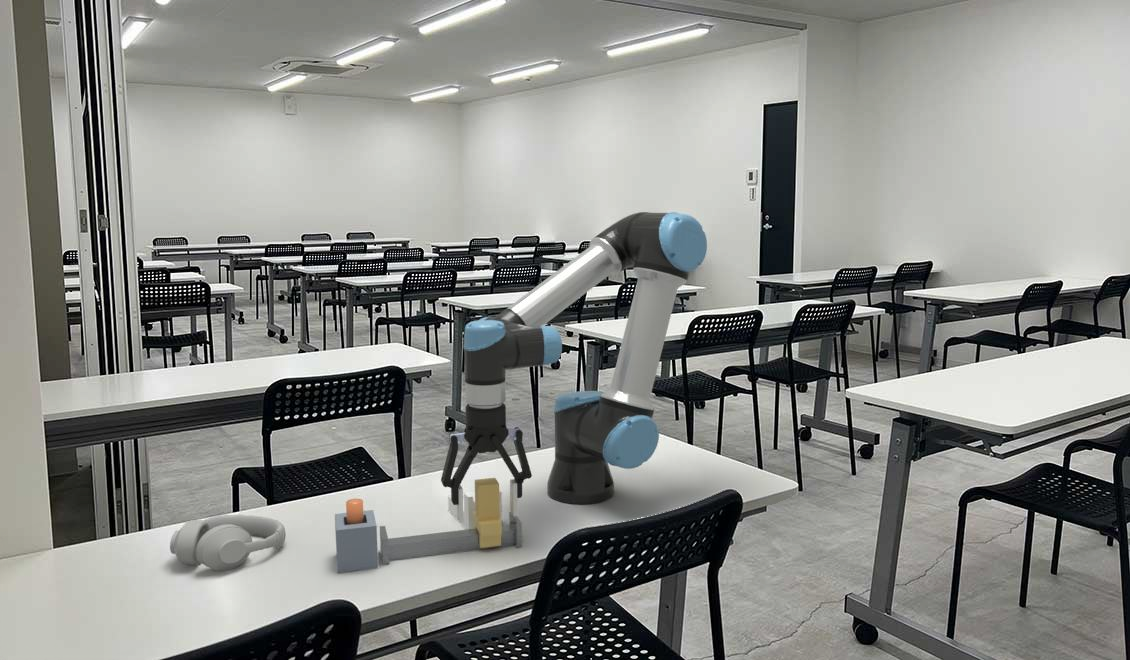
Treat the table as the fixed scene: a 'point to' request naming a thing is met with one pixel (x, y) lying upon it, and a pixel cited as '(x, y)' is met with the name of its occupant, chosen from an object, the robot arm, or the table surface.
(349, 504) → the plunger
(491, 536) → the carriage
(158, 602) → the table surface
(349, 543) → the housing
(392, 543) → the rail
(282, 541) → the headphones
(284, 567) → the table surface
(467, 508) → the bracket
